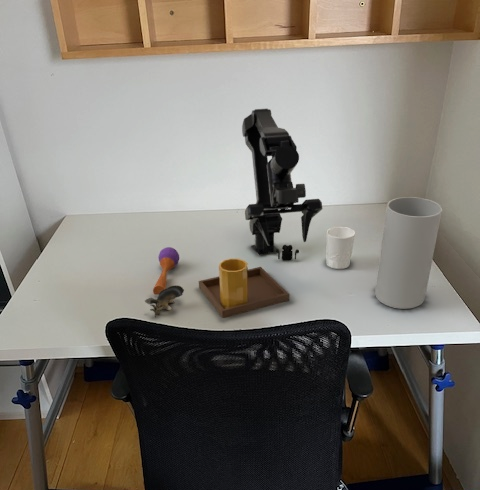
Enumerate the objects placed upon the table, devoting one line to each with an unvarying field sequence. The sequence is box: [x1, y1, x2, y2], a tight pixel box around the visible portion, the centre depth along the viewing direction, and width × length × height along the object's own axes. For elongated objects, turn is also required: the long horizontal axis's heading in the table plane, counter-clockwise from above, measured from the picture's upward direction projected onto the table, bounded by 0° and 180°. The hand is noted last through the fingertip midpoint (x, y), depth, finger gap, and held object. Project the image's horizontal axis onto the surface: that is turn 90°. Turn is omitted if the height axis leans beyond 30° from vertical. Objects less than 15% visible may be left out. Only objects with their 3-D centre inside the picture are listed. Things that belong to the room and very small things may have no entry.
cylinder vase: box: [374, 196, 443, 310], centre depth 133 cm, size 12×12×25 cm
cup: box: [218, 258, 249, 309], centre depth 135 cm, size 7×7×11 cm
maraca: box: [152, 246, 180, 295], centre depth 150 cm, size 6×6×20 cm
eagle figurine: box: [144, 285, 185, 318], centre depth 136 cm, size 8×7×9 cm
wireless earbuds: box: [274, 244, 300, 262], centre depth 158 cm, size 7×2×5 cm, turn 86°
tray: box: [198, 266, 290, 319], centre depth 141 cm, size 17×19×3 cm
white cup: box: [325, 226, 356, 270], centre depth 154 cm, size 8×8×10 cm
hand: (287, 243), depth 134 cm, fingers open, 9 cm apart
